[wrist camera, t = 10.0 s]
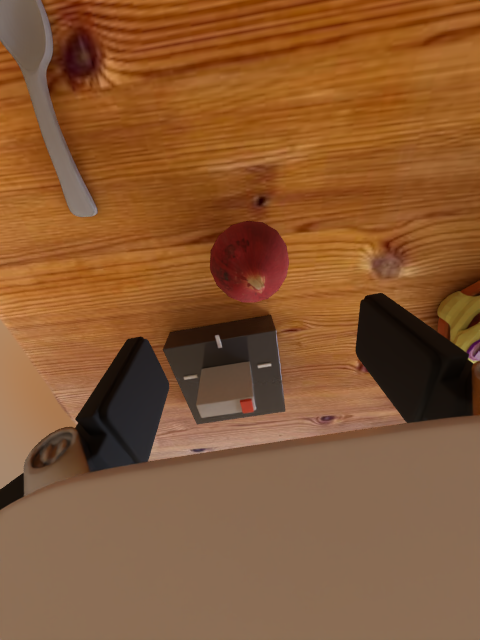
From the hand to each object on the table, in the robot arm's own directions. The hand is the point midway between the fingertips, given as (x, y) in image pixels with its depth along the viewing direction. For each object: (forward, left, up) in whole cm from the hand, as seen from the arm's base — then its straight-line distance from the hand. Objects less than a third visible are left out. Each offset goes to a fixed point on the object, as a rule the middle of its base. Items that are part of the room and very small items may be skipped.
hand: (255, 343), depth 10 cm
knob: (+10, -3, -9) cm, 14 cm away
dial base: (+12, -3, -12) cm, 18 cm away
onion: (-1, +1, -13) cm, 13 cm away
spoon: (-12, -10, -13) cm, 20 cm away
